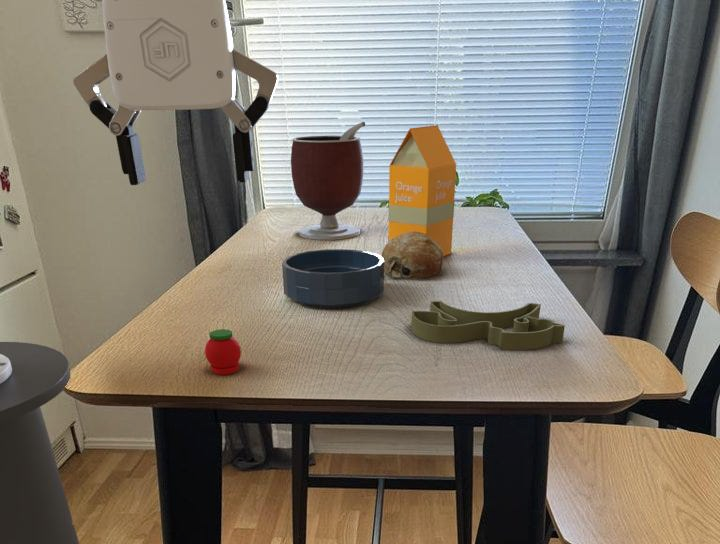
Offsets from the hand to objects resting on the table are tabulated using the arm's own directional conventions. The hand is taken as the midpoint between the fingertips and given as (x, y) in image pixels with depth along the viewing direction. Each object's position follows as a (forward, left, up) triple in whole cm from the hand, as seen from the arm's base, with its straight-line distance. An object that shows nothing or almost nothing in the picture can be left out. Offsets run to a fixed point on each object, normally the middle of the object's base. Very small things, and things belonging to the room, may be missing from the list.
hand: (191, 181), depth 61 cm
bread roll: (+37, +31, -19) cm, 52 cm away
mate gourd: (+35, +65, -19) cm, 77 cm away
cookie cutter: (+33, +1, -19) cm, 38 cm away
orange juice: (+43, +41, -19) cm, 63 cm away
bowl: (+21, +23, -19) cm, 37 cm away
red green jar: (+1, +1, -19) cm, 19 cm away
